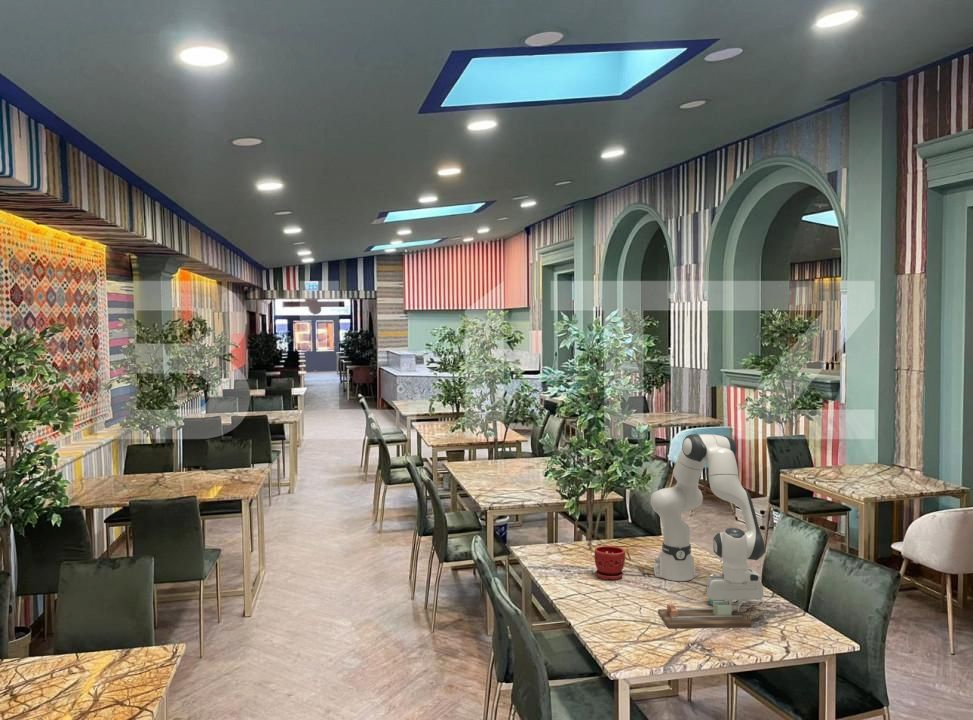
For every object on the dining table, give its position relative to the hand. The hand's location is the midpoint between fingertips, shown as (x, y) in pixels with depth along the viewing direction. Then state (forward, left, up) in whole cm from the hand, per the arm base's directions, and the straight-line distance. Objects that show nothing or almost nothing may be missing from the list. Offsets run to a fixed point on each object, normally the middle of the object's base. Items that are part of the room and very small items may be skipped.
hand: (734, 611), depth 262 cm
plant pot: (-49, -36, -3) cm, 61 cm away
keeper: (0, -5, -2) cm, 5 cm away
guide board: (0, -11, -3) cm, 12 cm away
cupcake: (-15, -1, -3) cm, 15 cm away
